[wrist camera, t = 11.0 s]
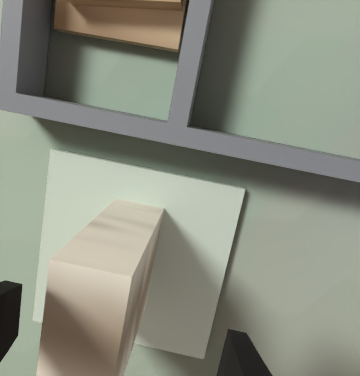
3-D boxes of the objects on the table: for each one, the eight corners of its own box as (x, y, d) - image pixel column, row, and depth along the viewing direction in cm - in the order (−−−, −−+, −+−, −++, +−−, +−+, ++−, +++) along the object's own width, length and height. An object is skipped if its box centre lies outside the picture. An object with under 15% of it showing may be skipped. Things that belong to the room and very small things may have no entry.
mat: (203, 354, 23) (203, 359, 23) (36, 316, 23) (32, 320, 23) (244, 187, 20) (245, 189, 20) (54, 148, 21) (50, 149, 20)
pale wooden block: (145, 308, 22) (104, 435, 13) (101, 298, 22) (31, 417, 13) (164, 208, 21) (131, 277, 12) (116, 198, 21) (49, 259, 12)
